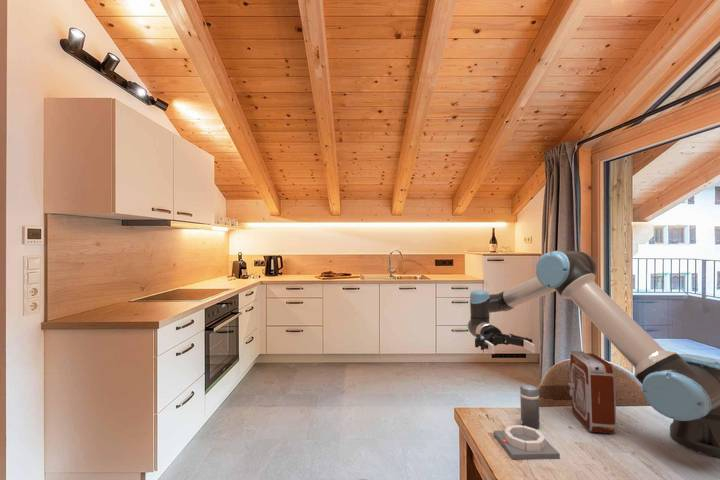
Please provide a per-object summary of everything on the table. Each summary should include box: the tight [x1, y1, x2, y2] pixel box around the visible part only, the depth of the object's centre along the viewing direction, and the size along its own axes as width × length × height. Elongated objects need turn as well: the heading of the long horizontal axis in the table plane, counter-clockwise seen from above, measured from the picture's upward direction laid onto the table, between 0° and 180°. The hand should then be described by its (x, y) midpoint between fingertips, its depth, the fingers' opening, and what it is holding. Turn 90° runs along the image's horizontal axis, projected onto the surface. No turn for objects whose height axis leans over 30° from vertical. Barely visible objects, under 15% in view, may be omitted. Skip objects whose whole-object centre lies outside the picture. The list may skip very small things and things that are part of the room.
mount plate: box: [493, 424, 561, 460], centre depth 95 cm, size 12×12×3 cm
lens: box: [519, 384, 540, 430], centre depth 107 cm, size 5×5×11 cm
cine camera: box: [567, 350, 617, 434], centre depth 110 cm, size 9×19×20 cm, turn 168°
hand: (513, 349), depth 117 cm, fingers open, 13 cm apart
